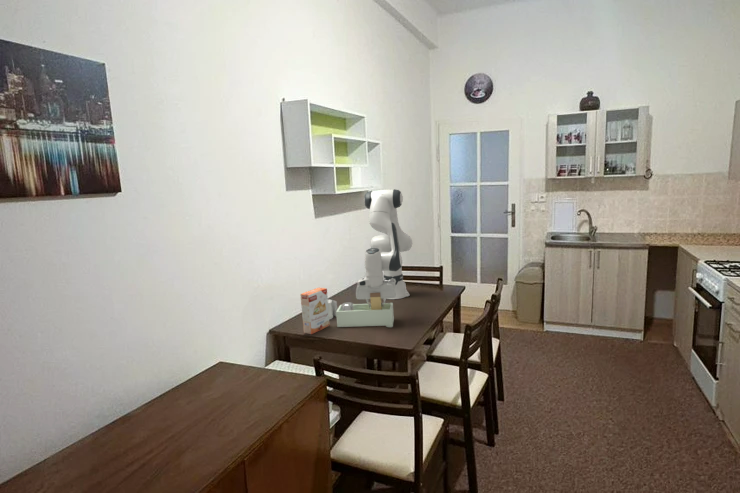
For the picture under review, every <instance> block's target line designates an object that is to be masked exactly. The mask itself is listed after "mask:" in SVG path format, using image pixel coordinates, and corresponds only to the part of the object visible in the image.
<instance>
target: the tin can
mask: <svg viewBox="0 0 740 493" xmlns="http://www.w3.org/2000/svg"><path fill="white" fill-rule="evenodd" d="M353 304H354V303H353V302H343V303H342V304H341V305H342V311H354V307H353Z"/></svg>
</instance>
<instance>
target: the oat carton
mask: <svg viewBox="0 0 740 493" xmlns="http://www.w3.org/2000/svg"><path fill="white" fill-rule="evenodd" d="M380 297H381V296H380V293H370V298H371V299H370V303H371V310H382V307H381V303H383V302H382V300H383V299H381V298H380Z"/></svg>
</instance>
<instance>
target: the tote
mask: <svg viewBox="0 0 740 493" xmlns="http://www.w3.org/2000/svg"><path fill="white" fill-rule="evenodd" d="M353 307H354V311H342V304H340V305H339V306H338V307H337V311H336V316H335V317H336V326H337V328H349V327H351V328H354V327H376V326H377V327H381V326H382V327H383V326H385V327H386V328H393V327H394V322H395V316H394V315H395V314H394V303H393V302H385V303H384V307H382V310H371V307H369V304H368V303H353Z"/></svg>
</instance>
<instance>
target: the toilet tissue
mask: <svg viewBox="0 0 740 493" xmlns="http://www.w3.org/2000/svg"><path fill="white" fill-rule="evenodd" d="M337 309H338V301H337V300H334V299H328V310H329V321H330V320H332V319H333V318H334V317H336V311H337Z"/></svg>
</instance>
